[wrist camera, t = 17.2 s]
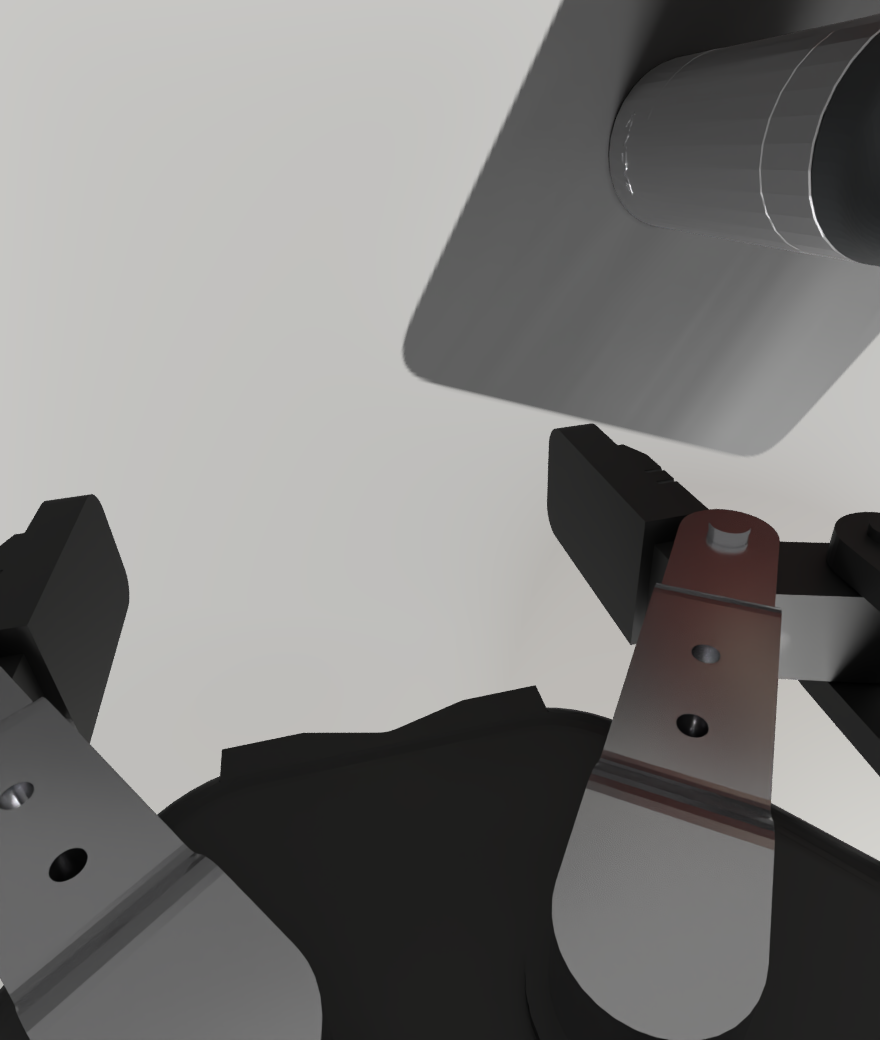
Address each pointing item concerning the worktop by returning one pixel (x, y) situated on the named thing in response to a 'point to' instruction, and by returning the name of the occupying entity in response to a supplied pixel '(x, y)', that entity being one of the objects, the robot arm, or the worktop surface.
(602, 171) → the worktop surface
